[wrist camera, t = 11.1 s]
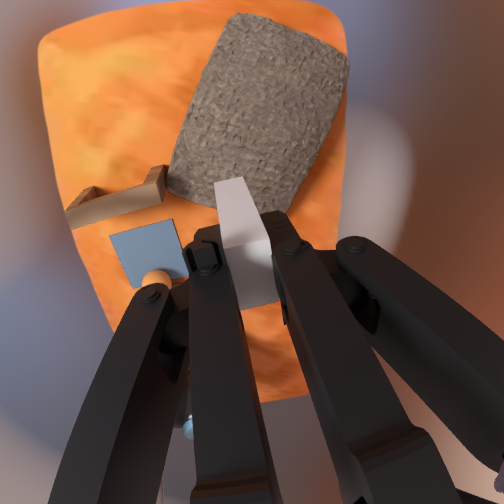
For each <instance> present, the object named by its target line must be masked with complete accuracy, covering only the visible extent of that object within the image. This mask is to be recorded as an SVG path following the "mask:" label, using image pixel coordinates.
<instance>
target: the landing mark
mask: <svg viewBox="0 0 504 504" xmlns="http://www.w3.org/2000/svg"><path fill="white" fill-rule="evenodd" d="M109 237H110V240H111V242H112V244H113V247H114V249H115V251H116V253H117V256H118V258H119V260H120V262H121V265H122V267H123V269H124V271H125V273H126V275H127V277H128V279H129V282H130V284H131V286H132V288H133V289H134V288H138V287H142V281H143V278H144V276H145V275H146V274H147V273H148V272H150V271H152V270H162V271H164V272H165V273H167V274H168V276H169V277H170V279H171V280H174V279H178V278H182V277H187V276H189V273H188V270H187V267H186V264H185V261H184V258H183V255H182V248H181V245H180V242H179V239H178V236H177V233H176V230H175V227H174V224H173V221H172V219H169V220H165V221H161V222H158V223H154V224H150V225H146V226H143V227H139V228H135V229H131V230H128V231H124V232H121V233H117V234H113V235H110V236H109Z"/></svg>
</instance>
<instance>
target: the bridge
mask: <svg viewBox="0 0 504 504" xmlns="http://www.w3.org/2000/svg"><path fill="white" fill-rule="evenodd" d="M166 177H167V175H166V172H165V168H164V164H163V165H160V166H156V167H153V168H151V170H150V172H149V174H148V175H147V177H146V179H145V181H144V183H143V184H141V185H138V186H134V187H131V188H128V189H124V190H121V191H118V192H115V193H111V194H108V195H105V196H102V197H99V198H98V196H97V193H96V190H95V187H94V186H92V187H90V188H87V189H84V190H83V191H82V192H81V193H80V194H79V196H78V197H77V198H76V199H75V200H74V201H73V202H72V203H71V205H70V206H69V207H68V208H67V209H66V210H65V211H64V213H65V216H66V218H67V220H68V223H69V225H70V227H71V229H72V230H74V229H77V228H80V227H83V226H86V225H89V224H92V223H96V222H99V221H102V220H105V219H109V218H112V217H115V216H119V215H122V214H126V213H129V212H133V211H136V210H140V209H143V208H147V207H150V206H154V205H158V204H162V202H163V198H164V195H165V191H166V188H167V187H166Z"/></svg>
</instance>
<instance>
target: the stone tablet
mask: <svg viewBox="0 0 504 504" xmlns="http://www.w3.org/2000/svg"><path fill="white" fill-rule="evenodd" d="M349 68H350V63H349V61H348V58H347V57H346V56H345V55H344V54H342V53H340V52H339V51H338V50H337V49H335V48H334V47H332V46H330V45H328V44H326V43H324V42H323V41H321V40H319V39H316V38H315V37H313V36H311V35H309V34H307V33H304V32H300V31H296V30H292V29H289V28H287V27H285V26H284V25H281V24H278V23H275V22H273V21H272V20H271V19H269V18H266V17H262V16H257V15H253V14H248V13H247V14H240V13H236V14H234V15H233V16H232V17H231V18H230V19H229V20H228V21H227V23H226V25H225V27H224V29H223V31H222V34H221V36H220V38H219V40H218V41H217V43H216V45H215V47H214V49H213V51H212V54H211V56H210V58H209V60H208V63H207V65H206V66H205V68H204V70H203V72H202V75H201V79H200V81H199V83H198V86H197V89H196V91H195V94H194V96H193V98H192V101H191V103H190V106H189V109H188V112H187V114H186V117H185V119H184V122H183V125H182V127H181V130H180V133H179V136H178V139H177V142H176V145H175V148H174V150H173V154H172V159H171V163H170V166H169V169H168V173H167V177H166V187H167V188H166V189H167V190H168V192H169V193H172V194H174V195H177V196H179V197H182V198H184V199H187V200H189V201H191V202H194V203H198V204H201V205H204V206H207V207H211V208H215V209H217V203H216V196H215V188H214V183H215V182H219V181H224V180H228V179H232V178H237V177H242V176H243V179H244V181H245V183H246V185H247V188H248V190H249V192H250V195H251V197H252V199H253V201H254V204H255V206H256V208H257V211H258V213H259V214H262V213H266V212H271V211H276V210H279V211H281V212H283V213H285V212H286V211H287V210H288V209H289V207H290V206H291V204H292V200H293V198H294V197H295V196H296V195H297V193H298V191H299V188H300V185H302V184H303V182H304V180H305V178H306V177H307V175H308V173H309V171H310V169H311V166H312V165H313V164H314V162H315V161H316V159H317V157H318V151H319V150H320V149H321V148H322V146H323V143H324V141H325V139H326V137H327V135H328V133H329V132H330V129H331V126H332V123H333V121H334V120H335V117H336V114H337V111H338V108H339V106H340V103H341V100H342V96H343V91H344V89H345V87H346V84H347V79H348V73H349Z"/></svg>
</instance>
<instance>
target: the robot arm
mask: <svg viewBox="0 0 504 504" xmlns="http://www.w3.org/2000/svg"><path fill="white" fill-rule="evenodd" d="M214 188H215V196H216V203H217V210H218V217H219V224H217V225H213V226H209V227H205V228H201V229H198V230H197V232H196V233H195V235H194V241H193V242H191V243H189V244H188V245H187V246H186V247H185V248H184V249H183V251H182V255H183V258H184V261H185V264H186V267H187V270H188V273H189V278H188V280H186V281H185V282H184V283H182V284H180V285H178V286H176V287H174V288H172V289H170V290H169V288H168V286H167V285H165V284H163V283H152V284H149V285H146V286H144V287H142V288H141V289H140V290H138V291H137V292H136V293H135V295H134V296H133V298H132V300H131V302H130V304H129V306H128V307H127V309H126V311H125V313H124V315H123V317H122V319H121V321H120V323H119V325H118V327H117V329H116V332H115V334H114V336H113V338H112V340H111V342H110V344H109V346H108V348H107V351H106V353H105V355H104V357H103V359H102V361H101V363H100V366H99V368H98V370H97V372H96V375H95V377H94V379H93V381H92V384H91V386H90V388H89V391H88V393H87V395H86V398H85V400H84V403H83V405H82V407H81V410H80V412H79V415H78V417H77V420H76V422H75V425H74V428H73V430H72V433H71V436H70V438H69V441H68V443H67V446H66V449H65V452H64V455H63V458H62V460H61V463H60V466H59V469H58V472H57V475H56V478H55V481H54V485H53V488H52V491H51V494H50V498H49V501H48V504H164V494H163V469H164V465H165V461H166V456H167V452H168V447H169V443H170V438H171V434H172V430H173V427H174V428H182V432H183V434H184V436H185V437H186V438H189V439H191V440H194V450H195V451H194V452H195V463H196V474H197V482H196V486H195V487H194V489H193V490H192V492H191V497H190V504H284V503H283V499H282V496H281V493H280V489H279V485H278V481H277V476H276V472H275V467H274V463H273V459H272V455H271V450H270V446H269V441H268V437H267V433H266V428H265V424H264V419H263V415H262V410H261V405H260V401H259V396H258V392H257V387H256V382H255V378H254V373H253V368H252V363H251V359H250V354H249V349H248V344H247V339H246V334H245V329H244V325H243V320H242V316H241V312H240V310H244V309H249V308H253V307H257V306H261V305H266V304H270V303H274V302H278V301H279V298H280V301H281V308H282V315H283V322H284V325H286V324H287V327H288V330H289V333H290V336H291V339H292V342H293V345H294V348H295V351H296V354H297V356H298V359H299V362H300V365H301V368H302V371H303V374H304V377H305V380H306V383H307V386H308V389H309V392H310V395H311V398H312V401H313V404H314V407H315V410H316V413H317V416H318V419H319V422H320V425H321V428H322V431H323V434H324V437H325V440H326V443H327V446H328V449H329V452H330V455H331V458H332V461H333V464H334V468H335V471H336V474H337V477H338V481H339V488H340V493H341V497H342V501H343V504H497V503H495V502H492V501H489V500H486V499H483V498H480V497H478V496H475V495H472V494H470V493H467V492H465V491H462V490H459V489H457V488H455V486H454V483H453V481H452V479H451V477H450V475H449V472H448V470H447V468H446V466H445V464H444V462H443V460H442V457H441V455H440V453H439V451H438V449H437V447H436V445H435V443H434V441H433V439H432V438H431V436H430V435H429V433H428V432H426V431H425V430H424V429H423V428H420V427H416V426H414V425H413V424H412V423H411V421H410V420H409V418H408V416H407V414H406V412H405V410H404V408H403V406H402V404H401V403H400V401H399V398H398V397H397V394H396V393H395V391H394V389H393V387H392V385H391V383H390V381H389V379H388V377H387V375H386V373H385V372H384V370H383V368H382V366H381V364H380V362H379V360H378V358H377V357H376V355H375V353H374V351H373V350H372V347H373V348H374V349H375V350H376V351H377V352H378V353H379V355H380V356H381V357H382V358H383V359H384V360H385V361H386V362H387V363H388V364H389V365H390V366H391V367H392V368H393V369H394V370H395V371H396V372H397V374H398V375H399V376H400V377H401V378H402V379H403V380H404V381H405V382H406V383H407V384H408V385H409V386H410V387H411V388H412V389H413V391H414V392H415V393H416V394H417V395H418V396H419V397H420V398H421V399H422V400H423V401H424V402H425V404H426V405H427V406H428V407H429V408H430V409H431V410H432V411H433V412H434V413H435V414H436V415H437V416H438V418H439V419H440V420H441V421H442V422H443V423H444V424H445V425H446V426H447V427H448V429H449V430H450V431H451V432H452V433H453V434H454V435H455V436H456V437H457V439H458V440H459V441H460V442H461V443H462V444H463V445H464V446H465V447H466V449H467V450H468V451H469V452H470V453H471V454H473V455H474V456H475V458H477V459H478V460H479V461H480V462H481V463H483V464H484V465H486V466H487V467H488V468H490V469H492V470H493V471H495V472H497V473H499V475H498V476H497V478H496V479H495V482H494V488H495V490H496V491H497V492H503V493H504V340H502V339H501V338H500V337H499V336H498V335H496V334H495V333H494V332H493V331H492V330H491V329H489V328H488V327H487V326H486V325H484V324H483V323H482V322H481V321H480V320H478V319H477V318H476V317H475V316H473V315H472V314H471V313H470V312H468V311H467V310H466V309H465V308H463V307H462V306H461V305H460V304H458V303H457V302H456V301H454V300H453V299H452V298H451V297H449V296H448V295H447V294H445V293H444V292H443V291H441V290H440V289H439V288H437V287H436V286H435V285H433V284H432V283H430V282H429V281H428V280H426V279H425V278H424V277H422V276H421V275H420V274H418V273H417V272H415V271H414V270H413V269H411V268H410V267H409V266H407V265H406V264H404V263H403V262H401V261H400V260H399V259H397V258H396V257H394V256H393V255H391V254H390V253H388V252H387V251H386V250H384V249H383V248H381V247H380V246H378V245H377V244H375V243H374V242H372V241H371V240H369V239H367V238H365V237H359V236H350V237H346V238H343V239H341V240H340V241H338V243H337V244H336V250H316V249H314V248H313V247H312V245H311V244H310V243H309V242H308V241H305V240H302V239H301V238H300V236H299V235H298V233H297V231H296V230H295V228H294V226H293V225H292V223H291V221H290V220H289V218H288V216H287V215H286V214H285V213H283V212H281V211H279V210H276V211H271V212H266V213H262V214H259V213H258V211H257V208H256V206H255V204H254V201H253V199H252V197H251V195H250V192H249V190H248V188H247V185H246V183H245V181H244V179H243V176H242V177H237V178H232V179H228V180H224V181H219V182H215V183H214ZM278 295H279V296H278ZM370 345H371V346H372V347H371V346H370Z"/></svg>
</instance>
